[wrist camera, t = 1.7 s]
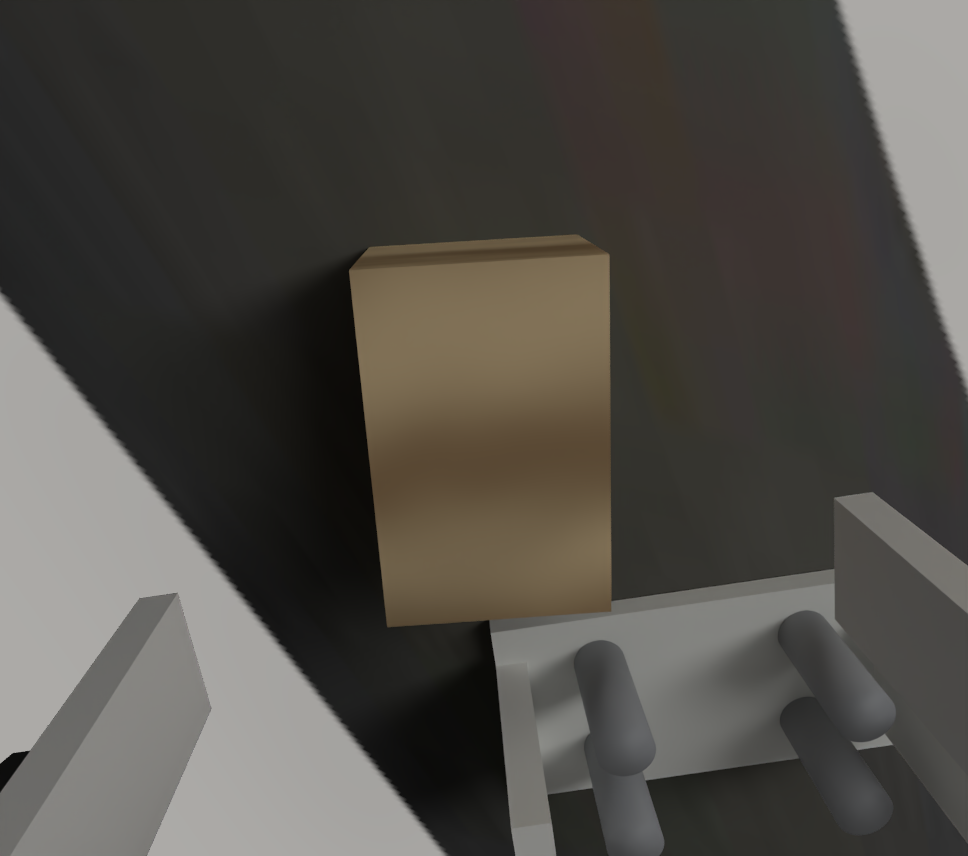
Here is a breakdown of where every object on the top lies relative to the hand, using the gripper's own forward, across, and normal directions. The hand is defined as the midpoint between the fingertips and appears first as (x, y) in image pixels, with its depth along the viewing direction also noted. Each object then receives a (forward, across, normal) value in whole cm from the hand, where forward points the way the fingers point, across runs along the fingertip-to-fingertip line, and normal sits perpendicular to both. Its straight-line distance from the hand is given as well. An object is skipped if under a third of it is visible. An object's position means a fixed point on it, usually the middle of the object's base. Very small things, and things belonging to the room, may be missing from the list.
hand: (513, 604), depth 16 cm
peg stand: (+14, +7, -13) cm, 20 cm away
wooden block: (+14, 0, 0) cm, 14 cm away
